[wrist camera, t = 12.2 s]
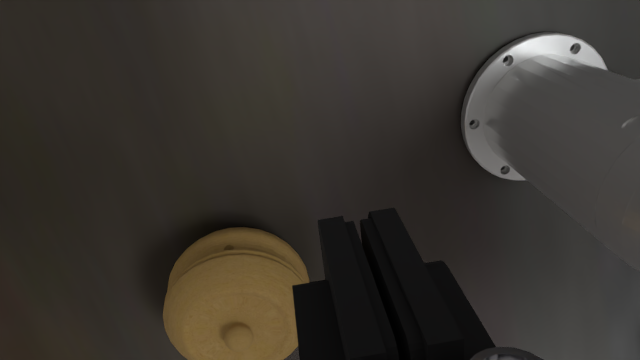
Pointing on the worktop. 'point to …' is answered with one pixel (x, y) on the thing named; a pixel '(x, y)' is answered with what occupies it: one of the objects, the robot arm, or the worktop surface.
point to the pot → (234, 297)
